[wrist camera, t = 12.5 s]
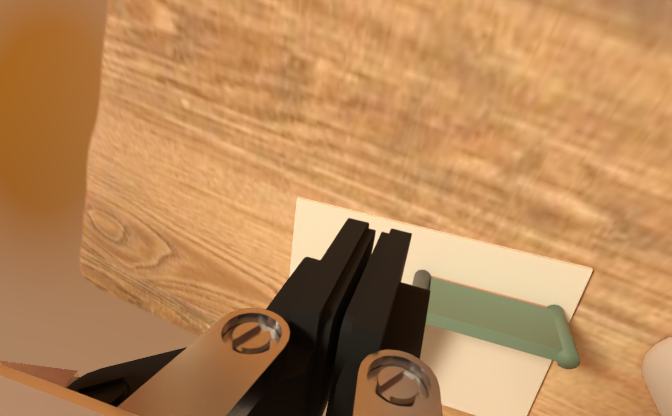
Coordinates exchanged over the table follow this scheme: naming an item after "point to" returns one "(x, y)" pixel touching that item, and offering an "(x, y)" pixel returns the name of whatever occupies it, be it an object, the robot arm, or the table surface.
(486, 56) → the table surface
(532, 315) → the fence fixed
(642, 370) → the milk bottle
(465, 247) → the card
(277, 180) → the table surface
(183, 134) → the table surface
